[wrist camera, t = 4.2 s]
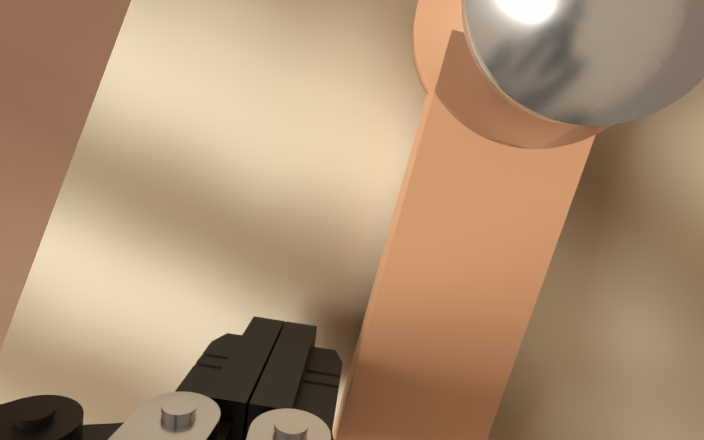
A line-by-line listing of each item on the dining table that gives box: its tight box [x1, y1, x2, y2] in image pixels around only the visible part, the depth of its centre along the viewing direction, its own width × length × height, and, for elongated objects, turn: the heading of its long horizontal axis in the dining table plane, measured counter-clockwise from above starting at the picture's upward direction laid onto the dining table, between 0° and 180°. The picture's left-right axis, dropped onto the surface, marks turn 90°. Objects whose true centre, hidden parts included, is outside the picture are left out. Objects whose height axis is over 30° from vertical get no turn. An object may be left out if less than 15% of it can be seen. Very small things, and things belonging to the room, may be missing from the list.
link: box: [332, 0, 611, 440], centre depth 12 cm, size 18×4×2 cm, turn 166°
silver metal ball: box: [461, 0, 704, 126], centre depth 8 cm, size 3×3×3 cm
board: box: [0, 0, 704, 440], centre depth 14 cm, size 26×28×1 cm
